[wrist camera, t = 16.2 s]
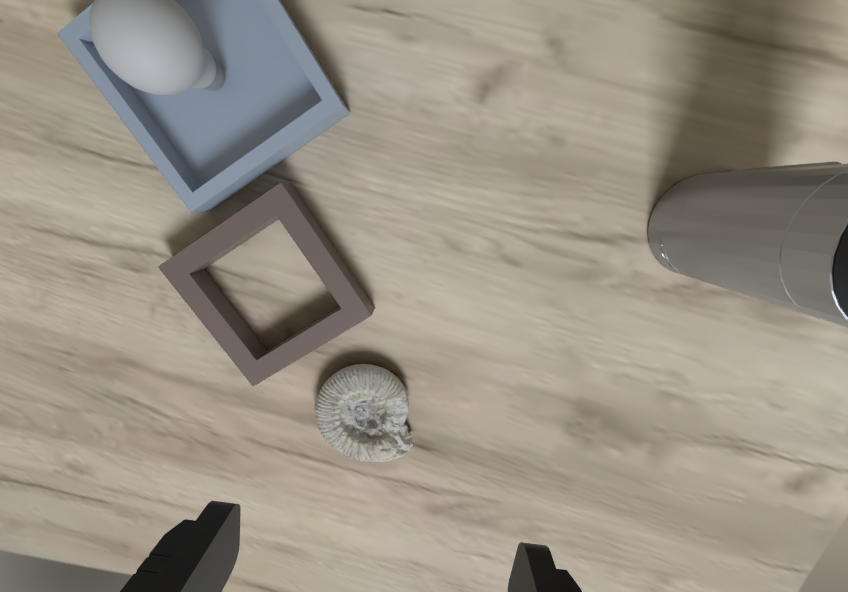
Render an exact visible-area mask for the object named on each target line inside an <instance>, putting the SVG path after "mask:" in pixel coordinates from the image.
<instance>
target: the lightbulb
mask: <svg viewBox="0 0 848 592" xmlns="http://www.w3.org/2000/svg"><path fill="white" fill-rule="evenodd" d="M89 28H90V33H91V37H92V40H93V43H94V45H95V47H96V49H97V51H98V53H99V55H100V57H101V58H102V60H103V61H104V62H105V64H106V65H107V66H108V67H109V68H110V69H111V70H112V71H113V72H114V73H115V74H116V75H117V76H118V77H119V78H121V79H122V80H124V81H125V82H127V83H128V84H130V85H131V86H133V87H134V88H137V89H139V90H142V91H144V92H147V93H151V94H156V95H173V94H178V93H181V92H183V91H185V90H187V89H188V88H190V87H192V88H203V89H206V90H210V91H215V90H218V89H220V88H221V87H222V86H223V85H224V83H225V79H226V74H225V70H224V67H223V66H222V64H221V63H220V62H219V61H218V60H217V59H216V58H214V57H213V56H212V55H211V53H210V52H209V51H208V50H207V49H206V48H205V47H203V43H202V40H201V37H200V33H199V31H198V29H197V27H196V25H195V23H194V22H193V21H192V19H191V18H190V16H189V15H188V14H187V13H186V11H185V10H184V9H183V8H182V7H181V6H180V5H179V4H178V3H177V2H176V1H175V0H94V2H93V4H92V7H91V10H90V16H89Z"/></svg>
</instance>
